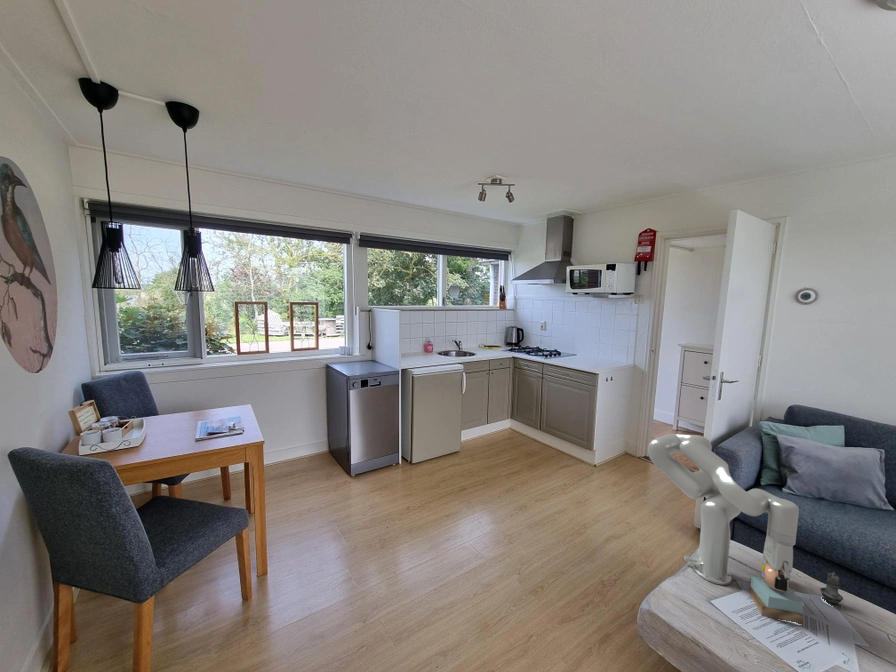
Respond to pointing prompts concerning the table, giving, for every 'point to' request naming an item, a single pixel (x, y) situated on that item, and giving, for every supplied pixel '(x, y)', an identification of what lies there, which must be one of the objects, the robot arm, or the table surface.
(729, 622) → the table surface
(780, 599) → the tower top block
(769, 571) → the brown egg
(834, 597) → the dark grey figurine
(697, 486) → the robot arm
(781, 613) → the tower base block
